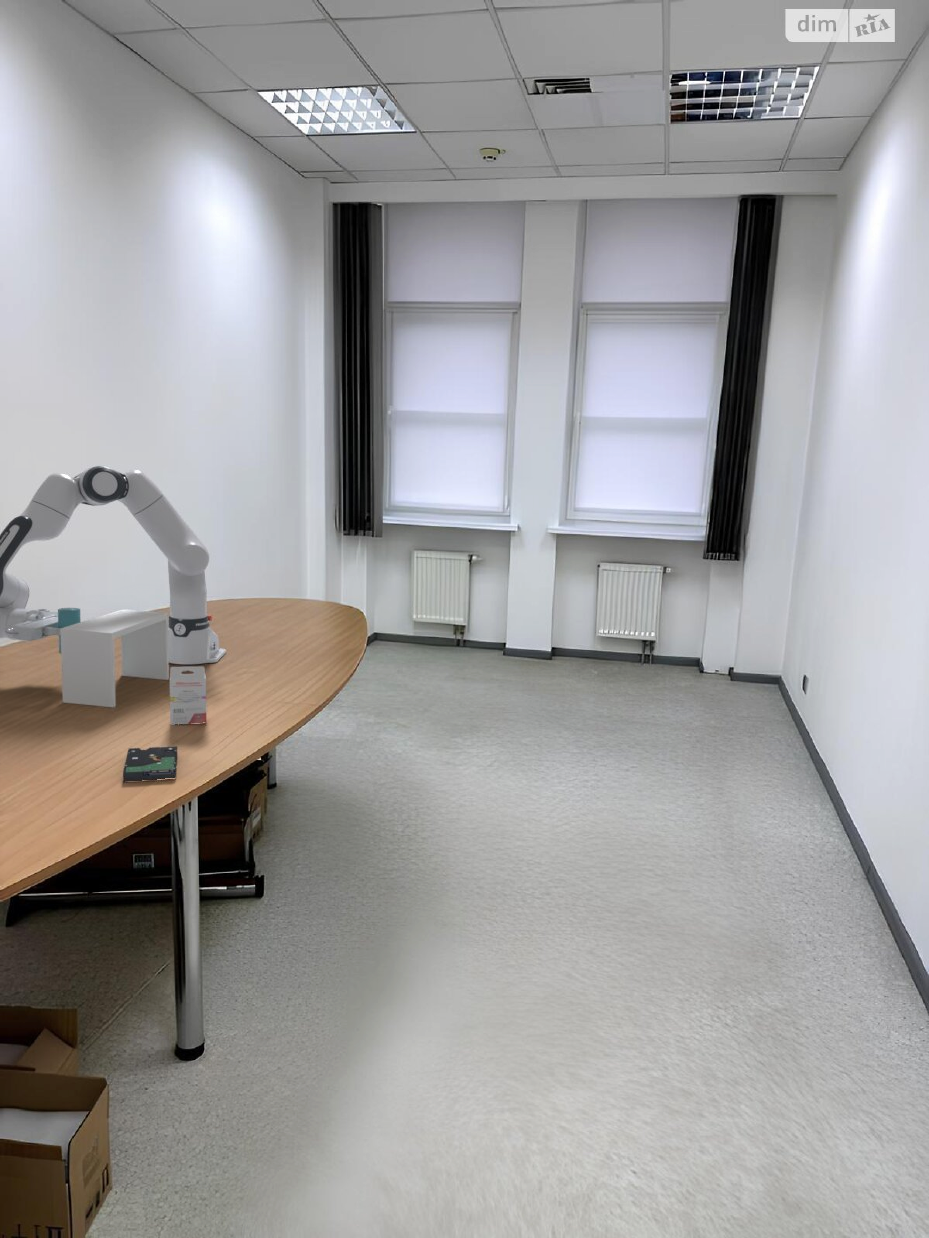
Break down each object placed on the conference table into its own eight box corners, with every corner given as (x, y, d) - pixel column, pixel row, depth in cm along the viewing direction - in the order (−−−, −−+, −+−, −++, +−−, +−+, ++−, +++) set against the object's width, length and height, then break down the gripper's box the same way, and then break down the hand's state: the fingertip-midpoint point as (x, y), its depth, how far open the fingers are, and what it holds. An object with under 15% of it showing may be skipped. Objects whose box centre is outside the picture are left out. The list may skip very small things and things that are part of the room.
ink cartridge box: (206, 718, 216) (206, 661, 214) (206, 724, 212) (206, 666, 209) (170, 719, 214) (170, 662, 211) (169, 725, 209) (169, 667, 206)
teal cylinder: (66, 649, 239) (65, 607, 237) (85, 651, 238) (84, 608, 236) (54, 653, 234) (53, 610, 232) (73, 655, 233) (72, 612, 231)
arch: (123, 674, 252) (122, 609, 248) (168, 678, 250) (168, 613, 246) (62, 702, 222) (60, 628, 219) (113, 707, 221) (111, 633, 217)
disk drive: (127, 760, 187) (123, 784, 173) (127, 748, 186) (122, 771, 173) (177, 757, 190) (177, 781, 176) (177, 745, 190) (176, 768, 176)
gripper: (0, 620, 226) (48, 625, 224) (48, 608, 246) (93, 612, 244) (1, 643, 227) (49, 648, 225) (49, 629, 247) (93, 633, 245)
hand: (72, 629), depth 235 cm, fingers closed on teal cylinder, 6 cm apart
